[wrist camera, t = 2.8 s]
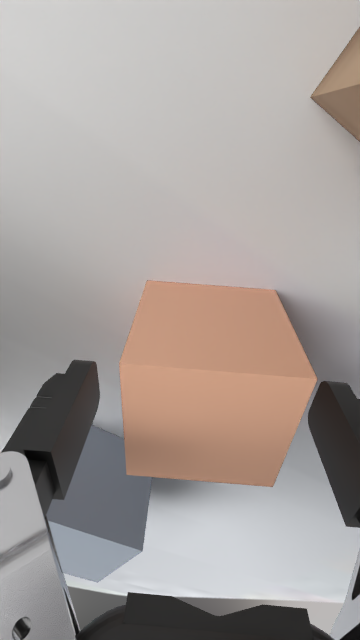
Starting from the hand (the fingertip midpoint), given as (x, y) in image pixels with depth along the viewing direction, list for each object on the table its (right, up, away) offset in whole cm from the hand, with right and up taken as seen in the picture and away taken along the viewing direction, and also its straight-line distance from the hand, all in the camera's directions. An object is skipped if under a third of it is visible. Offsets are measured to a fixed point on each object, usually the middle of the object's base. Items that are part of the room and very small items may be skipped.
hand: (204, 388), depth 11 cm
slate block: (-6, -6, +7) cm, 11 cm away
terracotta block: (0, +2, +2) cm, 3 cm away
